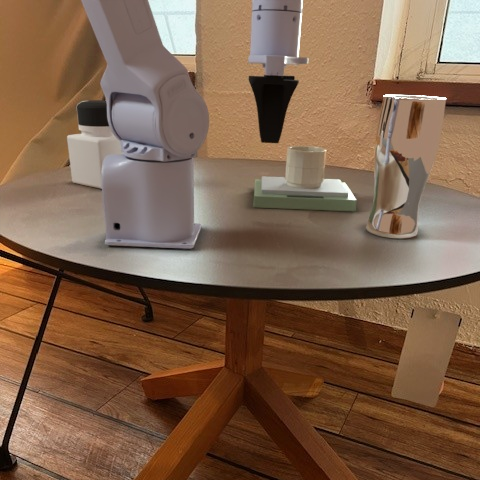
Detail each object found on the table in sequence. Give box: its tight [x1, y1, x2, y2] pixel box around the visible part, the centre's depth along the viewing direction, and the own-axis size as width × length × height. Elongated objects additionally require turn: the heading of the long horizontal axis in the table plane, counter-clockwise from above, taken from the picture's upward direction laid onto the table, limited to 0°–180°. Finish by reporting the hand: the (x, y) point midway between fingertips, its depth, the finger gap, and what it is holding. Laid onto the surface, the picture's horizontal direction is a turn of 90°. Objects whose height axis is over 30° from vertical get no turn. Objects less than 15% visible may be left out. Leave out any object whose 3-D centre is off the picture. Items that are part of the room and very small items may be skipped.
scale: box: [253, 175, 358, 212], centre depth 73 cm, size 14×11×2 cm
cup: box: [284, 145, 327, 189], centre depth 72 cm, size 6×6×5 cm
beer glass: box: [365, 94, 447, 240], centre depth 58 cm, size 7×7×15 cm
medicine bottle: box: [66, 99, 124, 190], centre depth 77 cm, size 7×7×12 cm
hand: (269, 138), depth 63 cm, fingers open, 7 cm apart
